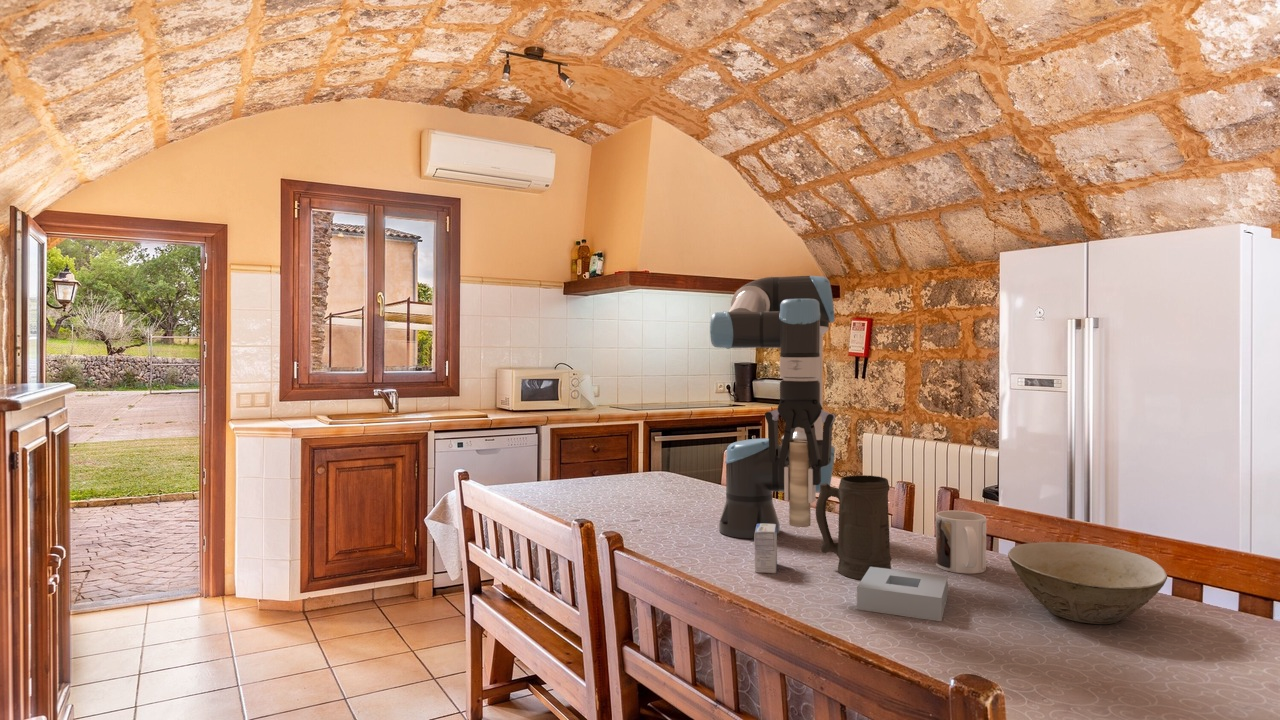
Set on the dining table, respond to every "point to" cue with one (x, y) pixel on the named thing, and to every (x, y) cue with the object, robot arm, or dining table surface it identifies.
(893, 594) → the socket block
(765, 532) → the medicine box
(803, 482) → the beech peg
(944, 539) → the mug
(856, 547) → the beer stein
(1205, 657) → the dining table surface
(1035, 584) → the bowl
